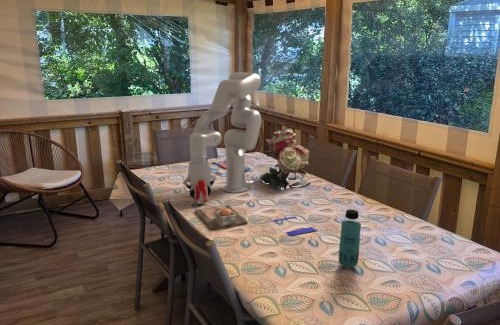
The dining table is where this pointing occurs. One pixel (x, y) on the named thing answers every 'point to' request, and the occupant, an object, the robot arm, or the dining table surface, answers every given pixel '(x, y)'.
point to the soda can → (200, 192)
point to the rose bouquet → (286, 159)
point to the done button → (225, 212)
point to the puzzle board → (223, 168)
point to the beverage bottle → (349, 240)
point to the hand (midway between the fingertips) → (200, 195)
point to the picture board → (220, 217)
